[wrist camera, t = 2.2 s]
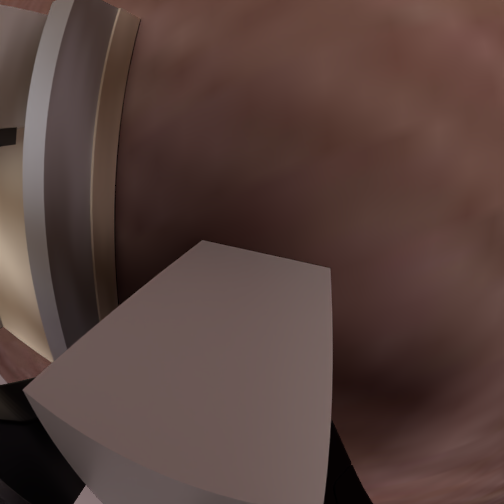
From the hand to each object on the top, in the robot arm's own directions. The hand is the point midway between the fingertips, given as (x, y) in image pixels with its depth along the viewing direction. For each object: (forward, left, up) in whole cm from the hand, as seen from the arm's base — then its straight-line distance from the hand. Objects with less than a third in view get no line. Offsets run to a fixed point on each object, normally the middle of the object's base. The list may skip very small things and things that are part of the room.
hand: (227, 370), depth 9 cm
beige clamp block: (+3, +11, -2) cm, 12 cm away
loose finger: (0, 0, -2) cm, 2 cm away
